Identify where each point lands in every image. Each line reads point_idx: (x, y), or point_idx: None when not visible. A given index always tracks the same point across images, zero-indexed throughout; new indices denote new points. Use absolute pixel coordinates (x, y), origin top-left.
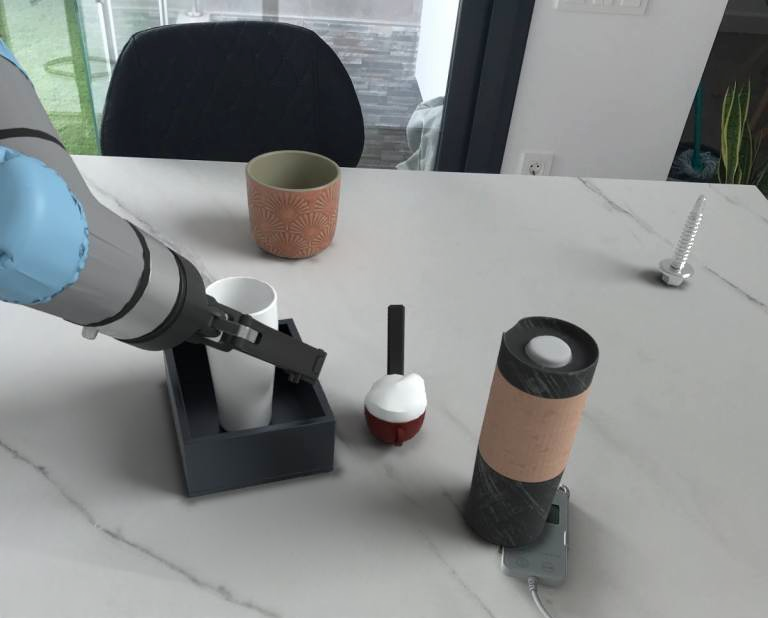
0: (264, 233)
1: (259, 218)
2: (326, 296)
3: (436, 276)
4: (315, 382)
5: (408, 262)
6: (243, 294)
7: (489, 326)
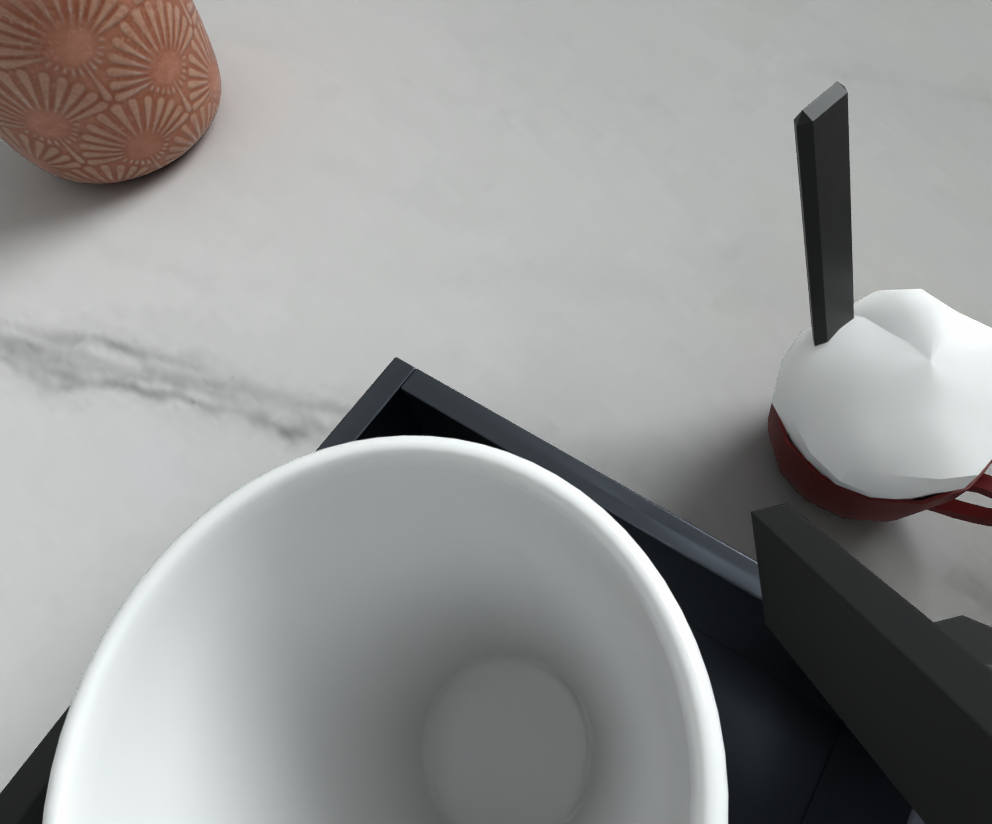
0: (60, 143)
1: (13, 110)
2: (325, 204)
3: (480, 20)
4: (736, 569)
5: (400, 25)
6: (290, 553)
7: (690, 55)
